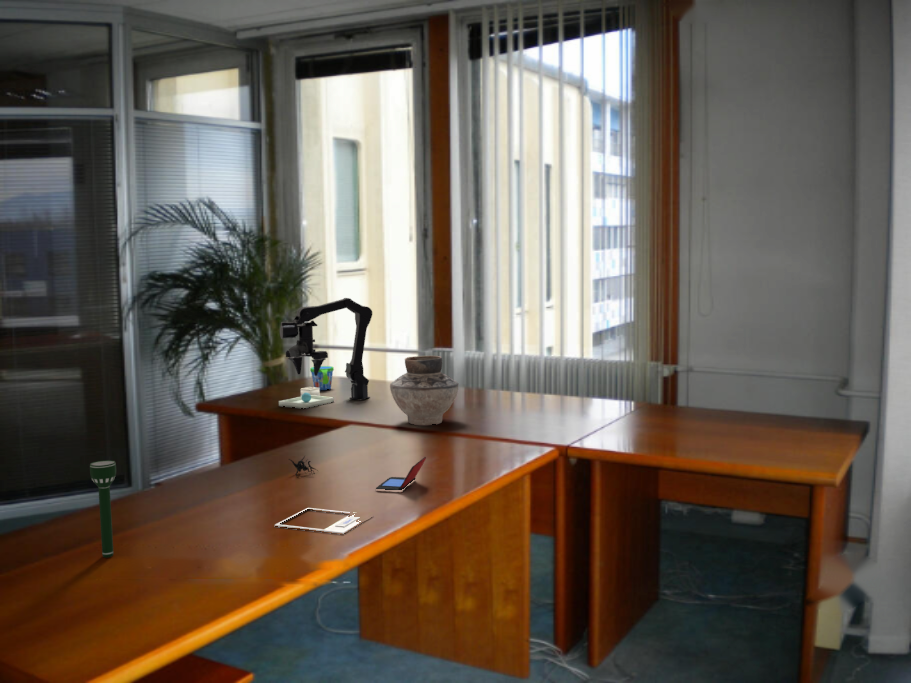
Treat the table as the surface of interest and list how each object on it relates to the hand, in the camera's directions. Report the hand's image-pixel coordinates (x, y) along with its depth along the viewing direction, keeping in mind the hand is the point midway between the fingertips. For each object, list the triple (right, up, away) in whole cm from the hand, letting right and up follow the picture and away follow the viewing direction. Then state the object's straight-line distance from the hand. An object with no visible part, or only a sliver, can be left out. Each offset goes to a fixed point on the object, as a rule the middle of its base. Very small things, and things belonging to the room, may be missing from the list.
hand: (307, 374), depth 377 cm
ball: (0, -11, -1) cm, 11 cm away
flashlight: (-12, -31, -186) cm, 189 cm away
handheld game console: (+47, -25, -134) cm, 144 cm away
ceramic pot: (+50, -16, -44) cm, 69 cm away
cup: (-1, -10, +15) cm, 18 cm away
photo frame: (+31, -29, -164) cm, 170 cm away
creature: (+19, -24, -119) cm, 123 cm away
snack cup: (+1, -8, +38) cm, 39 cm away
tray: (0, -12, -1) cm, 12 cm away
